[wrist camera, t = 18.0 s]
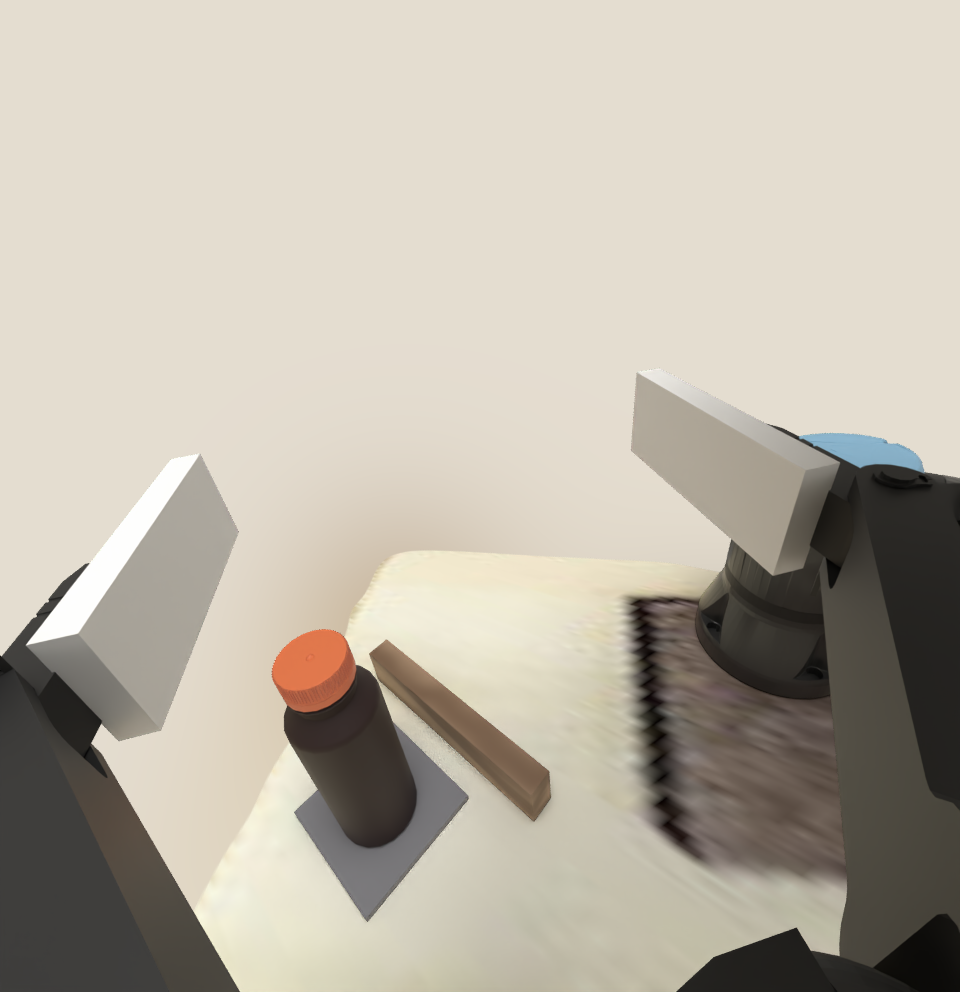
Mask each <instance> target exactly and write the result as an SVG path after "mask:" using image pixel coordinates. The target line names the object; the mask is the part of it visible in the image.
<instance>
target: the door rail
mask: <svg viewBox="0 0 960 992" xmlns="http://www.w3.org/2000/svg"><path fill="white" fill-rule="evenodd" d="M369 655H370V657H371V660H372V663H373V666H374V668H375V671H376V674H377V676H378V679H379V680H380V681H381V682H382V683H383V684H384V685H385V686H386V687H387V688H388V689H390V690H391V691H392V692H393V693H394V694H395V695H396V696H397V697H398V698H399V699H400V700H402V701H403V702H404V703H405V704H406V705H407V706H408V707H409V708H410V709H411V710H412V711H414V712H415V713H416V714H417V715H418V716H419V717H420V718H421V719H422V720H423V721H425V722H426V723H427V724H428V725H429V726H430V727H431V728H432V729H433V730H434V731H435V732H437V733H438V734H439V735H440V736H441V737H442V738H443V739H444V740H445V741H446V742H447V743H449V744H450V745H451V746H452V747H453V748H454V749H455V750H456V751H457V752H458V753H460V754H461V755H462V756H463V757H464V758H465V759H466V760H467V761H468V762H469V763H470V764H472V765H473V766H474V767H475V768H476V769H477V770H478V771H479V772H480V773H481V774H482V775H484V776H485V777H486V778H487V779H488V780H489V781H490V782H491V783H492V784H493V785H494V786H496V787H497V788H498V789H499V790H500V791H501V792H502V793H503V794H504V795H505V796H507V797H508V798H509V799H510V800H511V801H512V802H513V803H514V804H515V805H516V806H517V807H519V808H520V809H521V810H522V811H523V812H524V813H525V814H526V815H527V816H528V817H529V818H531V819H532V820H533V821H535V820H536V818H537V817H538V815H539V814H540V812H541V811H542V810H543V808H544V807H545V805H546V804H547V802H548V801H549V800H550V798H551V793H550V776H549V771H548V770H547V769H546V768H545V767H543V766H542V765H541V764H540V763H538V762H537V761H536V760H535V759H534V758H532V757H531V756H530V755H529V754H527V753H526V752H525V751H524V750H522V749H521V748H520V747H519V746H517V745H516V744H515V743H514V742H513V741H511V740H510V739H509V738H508V737H506V736H505V735H504V734H503V733H501V732H500V731H499V730H498V729H496V728H495V727H494V726H493V725H492V724H490V723H489V722H488V721H487V720H485V719H484V718H483V717H482V716H480V715H479V714H478V713H477V712H476V711H474V710H473V709H472V708H471V707H469V706H468V705H467V704H466V703H464V702H463V701H462V700H461V699H459V698H458V697H457V696H456V695H455V694H453V693H452V692H451V691H450V690H448V689H447V688H446V687H445V686H443V685H442V684H441V683H440V682H438V681H437V680H436V679H435V678H434V677H432V676H431V675H430V674H429V673H427V672H426V671H425V670H424V669H422V668H421V667H420V666H419V665H418V664H416V663H415V662H414V661H413V660H411V659H410V658H409V657H408V656H406V655H405V654H404V653H403V652H401V651H400V650H399V649H398V648H397V647H395V646H394V645H393V644H392V643H390V642H389V641H388V640H385V641H384V642H383V643H382V644H381V645H379V646H378V647H377V648H376V649H374V650H373V651H372V652H371V653H369Z"/></svg>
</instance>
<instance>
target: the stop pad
mask: <svg viewBox="0 0 960 992" xmlns="http://www.w3.org/2000/svg"><path fill="white" fill-rule="evenodd" d="M393 724H394V723H393ZM394 727H395V730H396V732H397V735H398V738H399V740H400V743H401V746H402V748H403V751H404V754H405V757H406V759H407V762H408V765H409V767H410V770H411V773H412V775H413V778H414V782H415V785H416V789H417V797H416V806H415V809H414V812H413V815H412V818H411V820H410V821H409V823H408V825H407V826H406V828H405V829H404V831H403V832H401V833H400V834H399V835H398V836H397V837H396V838H395V839H394V840H392V841H390V842H388V843H386V844H384V845H382V846H378V847H369V848H367V847H364V846H360V845H357V844H355V843H354V842H352V841H351V840H350V839H349V838H348V837H347V836H346V835H345V833H344V831H343V830H342V828H341V826H340V825H339V823H338V822H337V820H336V818H335V817H334V815H333V813H332V812H331V810H330V808H329V807H328V805H327V803H326V802H325V800H324V798H323V797H322V795H321V793H320V792H319V790H317V791H316V792H315V793H314V794H313V795H312V796H311V797H310V798H309V799H307V800H306V801H305V802H304V803H303V804H302V805H301V806H300V807H299V808H298V809H297V810H296V811H295V812H294V813H295V815H296V816H297V818H298V819H299V821H300V822H301V824H302V825H303V827H304V828H305V830H306V831H307V832H308V834H309V835H310V837H311V838H312V840H313V841H314V843H315V844H316V846H317V847H318V849H319V850H320V852H321V853H322V855H323V856H324V858H325V859H326V861H327V862H328V864H329V865H330V867H331V868H332V870H333V871H334V873H335V874H336V876H337V877H338V879H339V880H340V882H341V883H342V885H343V886H344V888H345V889H346V891H347V892H348V894H349V895H350V897H351V898H352V900H353V901H354V903H355V904H356V906H357V907H358V909H359V910H360V912H361V913H362V915H363V916H364V918H365V919H366V921H367V922H368V920H369V919H370V918H371V917H372V916H373V914H374V913H375V912H376V911H377V909H378V908H379V907H380V906H381V905H382V903H383V902H384V901H385V900H386V898H387V897H388V896H389V895H390V894H391V892H392V891H393V890H394V889H395V888H396V886H397V885H398V884H399V883H400V881H401V880H402V879H403V878H404V877H405V875H406V874H407V873H408V872H409V871H410V869H411V868H412V867H413V866H414V864H415V863H416V862H417V861H418V860H419V858H420V857H421V856H422V855H423V853H424V852H425V851H426V850H427V849H428V847H429V846H430V845H431V844H432V843H433V841H434V840H435V839H436V838H437V836H438V835H439V834H440V833H441V832H442V830H443V829H444V828H445V827H446V826H447V824H448V823H449V822H450V821H451V819H452V818H453V817H454V816H455V815H456V813H457V812H458V811H459V810H460V808H461V807H462V806H463V805H464V804H465V802H466V801H467V800H468V799H469V798H468V795H467V794H466V793H465V792H464V791H463V790H462V789H461V788H460V787H459V786H458V785H457V784H456V783H455V782H454V781H452V780H451V779H450V778H449V777H448V776H447V775H446V774H445V773H444V772H443V771H442V770H441V769H440V768H439V767H438V766H437V765H436V764H435V763H434V762H433V761H432V760H431V759H430V758H429V757H428V756H427V755H426V754H425V753H424V752H423V751H422V750H421V749H420V748H419V747H418V746H417V745H416V744H415V743H414V742H413V741H412V740H411V739H410V738H409V737H408V736H407V735H405V734H404V733H403V732H402V731H401V730H400V729H399V728H398V727H397V726H396V725H395V724H394Z"/></svg>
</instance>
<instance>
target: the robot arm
mask: <svg viewBox="0 0 960 992" xmlns="http://www.w3.org/2000/svg"><path fill="white" fill-rule="evenodd" d="M631 451H632V452H633V453H635V454H636V455H637V456H638V457H639V458H640V459H641V460H642V461H644V462H645V463H646V464H647V465H648V466H649V467H650V468H652V469H653V470H654V471H655V472H656V473H657V474H658V475H659V476H661V477H662V478H663V479H664V480H665V481H666V482H667V483H668V484H670V485H671V486H672V487H673V488H674V489H675V490H676V491H677V492H679V493H680V494H681V495H682V496H683V497H684V498H686V499H687V500H688V501H689V502H690V503H691V504H692V505H693V506H695V507H696V508H697V509H698V510H699V511H700V512H701V513H702V514H704V515H705V516H706V517H707V518H708V519H709V520H710V521H711V522H713V523H714V524H715V525H716V526H717V527H718V528H719V529H721V530H722V531H723V532H724V533H725V534H726V535H727V536H729V537H730V538H731V543H730V547H729V551H728V555H727V560H726V564H725V567H724V568H723V570H722V571H721V572H720V573H719V575H718V576H717V577H716V578H715V580H714V581H713V582H712V583H711V584H710V586H709V587H708V588H707V589H706V591H705V592H704V593H703V595H702V597H701V599H700V601H699V604H698V609H697V614H696V620H695V625H696V631H697V635H698V637H699V640H700V642H701V644H702V646H703V647H704V649H705V650H706V651H707V653H708V654H709V655H710V656H711V658H712V659H713V660H714V661H715V662H716V663H717V664H718V665H719V666H721V667H722V668H723V669H724V670H726V671H727V672H728V673H730V674H731V675H733V676H734V677H736V678H737V679H739V680H741V681H742V682H744V683H746V684H748V685H750V686H752V687H755V688H757V689H760V690H762V691H765V692H768V693H771V694H775V695H779V696H784V697H790V698H804V699H806V698H818V697H823V696H827V695H830V694H831V705H832V716H833V727H834V739H835V750H836V761H837V772H838V783H839V794H840V805H841V817H842V828H843V839H844V850H845V861H846V872H847V898H846V904H845V909H844V913H843V918H842V922H841V931H840V943H839V946H840V956H835V955H830V954H826V953H821V952H816V951H810V949H809V947H808V946H807V944H806V942H805V941H804V939H803V937H802V936H801V934H800V932H799V931H798V929H797V928H794V929H791V930H789V931H786V932H783V933H780V934H777V935H775V936H772V937H769V938H766V939H763V940H761V941H758V942H755V943H752V944H749V945H746V946H744V947H741V948H738V949H735V950H732V951H730V952H727V953H724V954H721V955H718V956H716V957H713V958H712V959H711V960H710V961H709V962H708V963H707V964H706V965H705V966H704V967H702V968H701V969H700V970H699V971H698V972H697V973H696V974H695V975H694V976H693V977H692V978H691V979H689V980H688V981H687V982H686V983H685V984H684V985H683V986H682V987H681V988H680V989H679V990H678V991H676V992H960V478H956V477H951V476H945V475H938V474H932V473H926V472H924V469H923V465H922V461H921V460H920V458H919V457H918V456H917V455H916V453H914V452H913V451H911V450H910V449H908V448H906V447H904V446H902V445H900V444H888V443H887V441H886V440H884V439H881V438H876V437H871V436H865V435H857V434H844V433H824V434H823V433H822V434H810V435H803V436H797V435H795V434H793V433H791V432H789V431H787V430H785V429H783V428H780V427H776V426H773V425H769V424H766V423H764V422H762V421H760V420H758V419H756V418H754V417H752V416H750V415H748V414H746V413H744V412H742V411H741V410H739V409H736V408H735V407H733V406H731V405H729V404H727V403H725V402H723V401H721V400H719V399H718V398H716V397H713V396H712V395H710V394H708V393H706V392H704V391H702V390H700V389H698V388H696V387H695V386H693V385H691V384H689V383H687V382H685V381H683V380H681V379H679V378H677V377H675V376H673V375H671V374H670V373H668V372H666V371H664V370H662V369H660V368H657V369H652V370H646V371H641V372H637V377H636V389H635V403H634V417H633V430H632V445H631ZM238 532H239V531H238V529H237V527H236V525H235V523H234V521H233V519H232V517H231V515H230V513H229V511H228V509H227V507H226V505H225V503H224V501H223V499H222V497H221V495H220V493H219V491H218V489H217V487H216V485H215V483H214V481H213V479H212V477H211V475H210V473H209V471H208V469H207V467H206V465H205V463H204V461H203V458H202V456H201V454H196V455H191V456H185V457H180V458H175V459H171V460H170V462H169V463H168V464H167V465H166V467H165V468H164V469H163V470H162V472H161V473H160V474H159V476H158V477H157V478H156V479H155V481H154V482H153V483H152V485H151V486H150V487H149V488H148V490H147V491H146V492H145V493H144V495H143V496H142V497H141V499H140V500H139V501H138V502H137V504H136V505H135V506H134V508H133V509H132V510H131V511H130V513H129V514H128V515H127V516H126V518H125V519H124V520H123V522H122V523H121V524H120V526H119V527H118V528H117V529H116V531H115V532H114V533H113V534H112V536H111V537H110V538H109V539H108V541H107V542H106V543H105V545H104V546H103V547H102V549H101V550H100V551H99V552H98V554H97V555H96V556H95V558H94V559H93V560H92V561H91V563H88V564H85V565H84V566H82V567H81V568H80V569H79V570H77V571H76V572H75V573H73V574H72V575H71V576H69V577H68V578H67V579H66V580H64V581H63V582H62V583H61V584H60V586H59V587H58V588H57V589H56V591H55V592H54V593H53V594H52V595H51V597H50V598H49V602H48V603H45V604H44V606H43V607H42V608H41V609H40V610H39V611H38V613H37V614H36V615H37V617H36V618H33V619H32V620H31V621H30V623H29V624H28V625H27V626H26V627H25V629H24V630H23V631H22V632H21V634H20V635H19V636H18V637H17V638H16V640H15V641H14V642H13V643H12V645H11V646H10V647H9V648H8V649H7V651H6V652H5V653H4V654H3V656H2V657H1V656H0V992H240V991H239V989H238V988H237V986H236V984H235V982H234V981H233V979H232V977H231V976H230V974H229V972H228V970H227V969H226V967H225V965H224V964H223V962H222V960H221V958H220V957H219V955H218V953H217V952H216V950H215V948H214V946H213V945H212V943H211V941H210V939H209V938H208V936H207V934H206V933H205V931H204V929H203V927H202V926H201V924H200V922H199V921H198V919H197V917H196V915H195V914H194V912H193V910H192V909H191V907H190V905H189V903H188V902H187V900H186V898H185V896H184V895H183V893H182V891H181V890H180V888H179V886H178V884H177V883H176V881H175V879H174V878H173V876H172V874H171V873H170V871H169V869H168V867H167V866H166V864H165V862H164V861H163V859H162V857H161V855H160V854H159V852H158V850H157V848H156V847H155V845H154V843H153V841H152V840H151V838H150V836H149V835H148V833H147V831H146V830H145V828H144V826H143V824H142V823H141V821H140V819H139V817H138V816H137V814H136V812H135V811H134V809H133V807H132V805H131V804H130V802H129V800H128V798H127V797H126V795H125V793H124V792H123V790H122V788H121V786H120V785H119V783H118V781H117V780H116V778H115V776H114V775H113V773H112V771H111V769H110V768H109V766H108V764H107V762H106V761H105V759H104V757H103V756H102V754H101V753H100V752H99V751H98V750H97V749H96V748H95V747H94V746H93V745H92V744H91V742H92V740H93V738H94V736H95V735H96V733H97V731H98V729H99V727H100V725H101V724H103V726H104V727H105V728H107V730H108V731H109V732H110V733H111V734H112V735H113V736H114V737H115V738H116V739H117V740H118V741H121V740H125V739H129V738H133V737H137V736H141V735H145V734H149V733H152V732H156V731H161V729H162V727H163V724H164V721H165V719H166V716H167V714H168V711H169V709H170V706H171V704H172V701H173V698H174V696H175V693H176V691H177V688H178V686H179V683H180V680H181V678H182V676H183V673H184V670H185V668H186V665H187V663H188V660H189V658H190V655H191V653H192V650H193V647H194V645H195V642H196V640H197V637H198V635H199V632H200V630H201V627H202V624H203V622H204V619H205V617H206V614H207V612H208V609H209V607H210V604H211V602H212V599H213V596H214V594H215V591H216V589H217V586H218V584H219V581H220V579H221V576H222V573H223V571H224V568H225V566H226V563H227V560H228V558H229V556H230V553H231V550H232V548H233V545H234V543H235V540H236V538H237V535H238Z"/></svg>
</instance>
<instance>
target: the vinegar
mask: <svg viewBox="0 0 960 992" xmlns="http://www.w3.org/2000/svg"><path fill="white" fill-rule="evenodd" d="M272 670H273V671H272V678H273V681H274V683H275V685H276V687H277V689H278V690H279V692H280V694H281V695H282V697H283V699H284V700H285V702H286V704H287V708H286V711H285V714H284V731H285V733H286V736H287V738H288V740H289V742H290V744H291V746H292V747H293V749H294V751H295V752H296V754H297V756H298V757H299V759H300V760H301V762H302V764H303V765H304V767H305V769H306V770H307V772H308V774H309V775H310V777H311V779H312V780H313V782H314V784H315V785H316V787H317V789H318V790H319V792H320V793H321V795H322V797H323V798H324V800H325V802H326V803H327V805H328V807H329V808H330V810H331V812H332V813H333V815H334V817H335V818H336V820H337V822H338V823H339V825H340V826H341V828H342V830H343V831H344V833H345V835H346V836H347V837H348V838H349V839H350V840H351V841H352V842H354V843H355V844H357V845H360V846H364V847H367V848H369V847H378V846H382V845H384V844H386V843H388V842H390V841H392V840H394V839H395V838H396V837H397V836H398V835H399V834H400V833H401V832H403V831H404V829H405V828H406V826H407V825H408V823H409V821H410V820H411V818H412V815H413V812H414V809H415V806H416V797H417V789H416V785H415V782H414V778H413V775H412V773H411V770H410V767H409V765H408V762H407V759H406V757H405V754H404V751H403V748H402V746H401V743H400V740H399V738H398V735H397V732H396V730H395V727H394V724H393V721H392V719H391V716H390V713H389V711H388V708H387V705H386V703H385V700H384V697H383V694H382V692H381V689H380V686H379V684H378V682H377V680H376V679H375V677H374V676H373V675H372V673H371V672H370V671H368V670H366V669H365V668H363V667H361V666H359V665H355V660H354V658H353V655H352V653H351V650H350V648H349V645H348V643H347V641H346V639H345V638H344V636H342V635H341V634H340V633H338V632H336V631H334V630H333V631H332V630H326V629H322V630H315V631H311V632H308V633H305V634H303V635H301V636H299V637H297V638H296V639H294V640H292V641H291V642H290V643H289V644H288V645H287V646H286V647H284V648H283V650H282V651H281V652H280V654H279V655H278V656H277V657H276V660H275V663H274V665H273V668H272Z"/></svg>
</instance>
